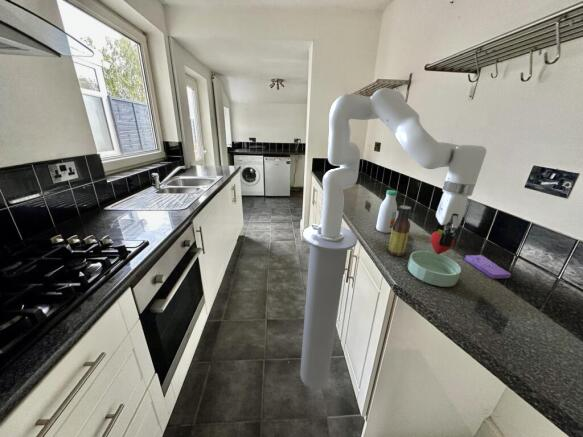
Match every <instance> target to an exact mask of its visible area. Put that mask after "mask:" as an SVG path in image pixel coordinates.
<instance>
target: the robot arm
mask: <svg viewBox="0 0 583 437" xmlns="http://www.w3.org/2000/svg"><path fill="white" fill-rule="evenodd" d="M377 119H378V120H380V121H381V122H382V123H383V124H384V125H385V126H386V127H387V128H388V129H389V130H390V131H391V132H392V133H393V134H394V135H395V137H396V140H397V142H398V143H399V144H400V145H401V147H402V149H403V150H404V151H405V152H406V153H407V155H408V156H410V157H411V159H412V160H414V161H415V162H416V163H417V164H418V166H420V167H422V168H424V169H427V170H437V169H439V168H448V169H447V173H446V177H445V180H444V184H443V187H442V191H441V192H443V193H442V195H441V198H440V201H439V204H438V206H437V210H436V212H435V218H436V219H437V223H436V226H435V229H434V232H436V231H439V230H442V231H443V230H444V231H443V233H442V234H441V237H440V241H439V245H441V246H447V247H450V246H451V244H452V241H453V240H454V238H455V236H456V233H457V230H458V227H460V225H461V223H462V220H463V217H464V214H465V210H466V207H467V204H468V199H469V197H471V196H473V193H474V190H475V187H476V185H477V181H478V179H479V176H480V173H481V170H482V166H483V164H484V161H485V159H486V155H487V148H486V147H485V146H483V145H473V144H454V143H450V142H443V141H441V142H440V141H439V142H438V141H437V140H436V139H435V138H434V137H433V136H432V135H431V134H430V133H429V132H427V130H426V129H425V128H424V127H423V125H422V123H421V121H420V115H419V113H418V112H417V111H416V110H415V109H414V108H412V107H411V105H409V104H408V103H407V102H406V99H405V96H404V95H403V94H402V92H400V91H399V90H396V89H392V88H389V87H382V88H379V89H377V90H375V92H374V93H372V95H369V96H367V95H361V94H358V93H352V92H351V93H350V92H349V93H344V94H342V95H340V96H339V97H337V98H336V99H335V101H334V102H332V105H331V108H330V110H329V117H328V123H329V124H328V125H329V128H328V129H329V130H328V145H327V161H328V163H329V164H330V165H332V166H336V167H338V168H333V169H330V170H328V171H326V172H325V173H324V175H323V177H322V193H323V195H322V207H321V216H320V218H321V220H320V224H316V223H312V224H311V226H312V228H313V229H314V230H318V231H317V236H318V237H319V238H321V239H323V240H326V241H339V240H341V239H342V238H343V233H342V232H341V227H342V224H343V215H344V208H345V194H344V190H346V189H350V188H352V187H354V186H355V185H356V183H357V182H358V178H359V170H360V161H361V151H360V148H359V146H358V144H356V143H355V142H352V141H351V125H350V120H358V121H367V120H377ZM438 229H439V230H438Z"/></svg>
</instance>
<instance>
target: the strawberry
mask: <svg viewBox="0 0 583 437" xmlns="http://www.w3.org/2000/svg"><path fill="white" fill-rule="evenodd" d="M438 230H439V229H438ZM443 231H444V230H443ZM443 231H442V230H439V231H436V232H435V231H434V232H432V233H431V235H430V243H431V246H432V249H433V250H434V251H433V252H435V253H436V254H441V255H442V254H443V253H446V252H447V251H449V250H450V249H451V248H452V247H453V246H454V243H455V240H454V239H453V241H452V244H451V246H450V247H447V246H441V245H439V241H440V237H441V234H442V233H443Z"/></svg>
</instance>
